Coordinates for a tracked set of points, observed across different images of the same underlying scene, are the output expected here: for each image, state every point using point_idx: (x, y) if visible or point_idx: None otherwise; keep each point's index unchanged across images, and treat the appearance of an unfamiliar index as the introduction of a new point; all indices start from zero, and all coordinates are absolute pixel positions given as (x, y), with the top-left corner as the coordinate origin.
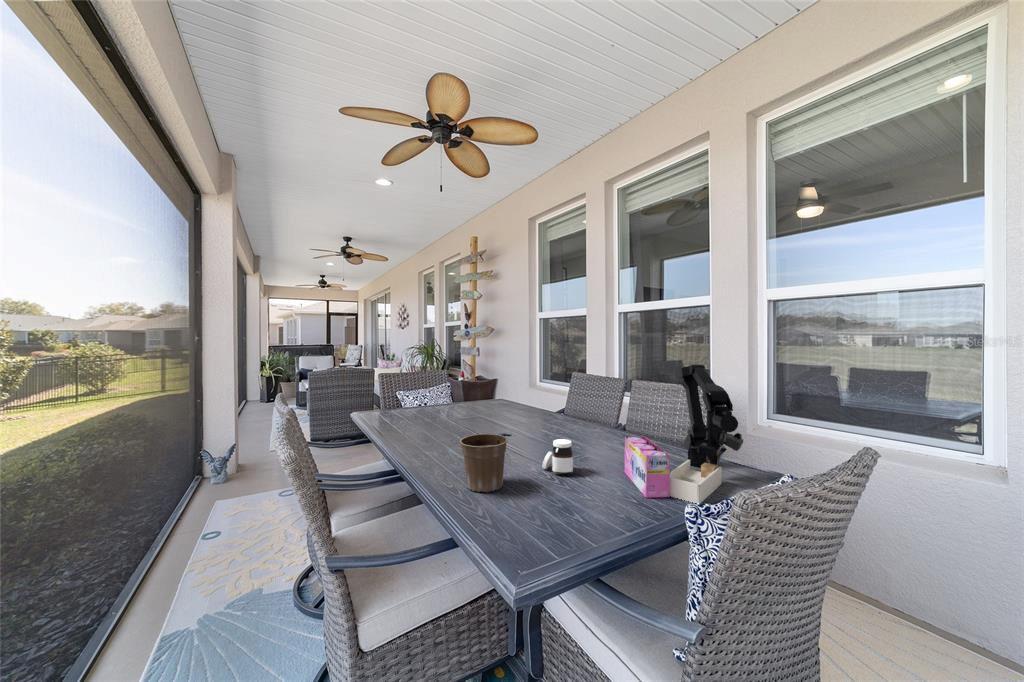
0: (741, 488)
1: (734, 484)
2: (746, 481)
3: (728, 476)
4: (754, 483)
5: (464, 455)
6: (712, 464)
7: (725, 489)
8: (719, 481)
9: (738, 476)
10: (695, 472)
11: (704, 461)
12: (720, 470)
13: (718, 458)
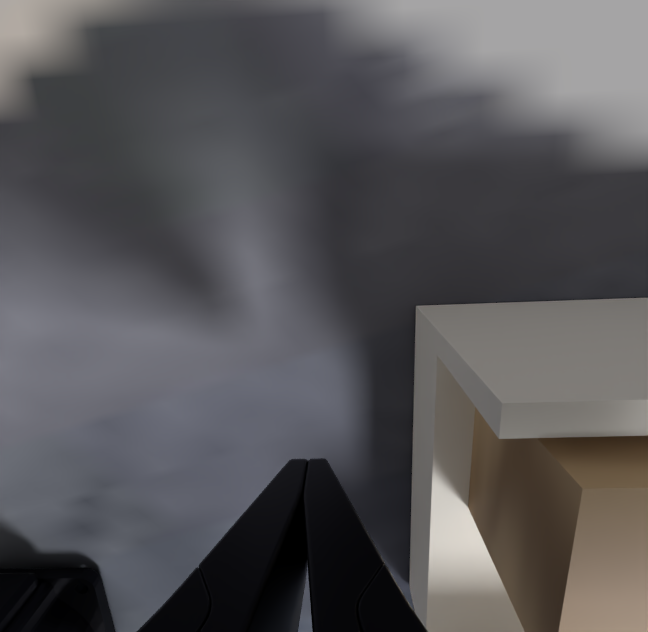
0: (408, 79)
1: (327, 191)
2: (113, 112)
3: (120, 324)
4: (101, 2)
5: None
6: (589, 567)
7: (564, 217)
8: (511, 316)
9: (25, 242)
10: (489, 588)
11: (9, 627)
12: (546, 372)
13: (336, 622)
